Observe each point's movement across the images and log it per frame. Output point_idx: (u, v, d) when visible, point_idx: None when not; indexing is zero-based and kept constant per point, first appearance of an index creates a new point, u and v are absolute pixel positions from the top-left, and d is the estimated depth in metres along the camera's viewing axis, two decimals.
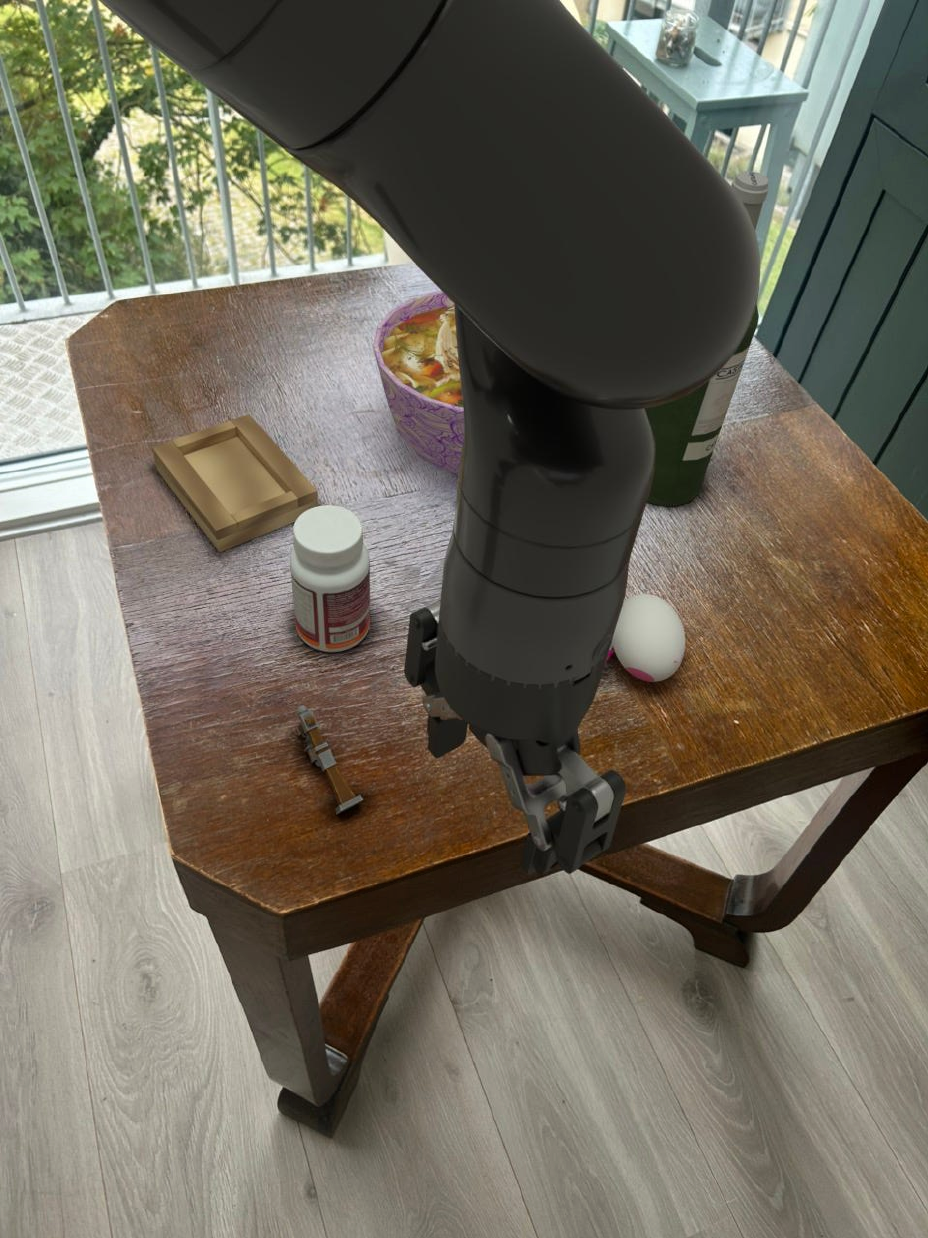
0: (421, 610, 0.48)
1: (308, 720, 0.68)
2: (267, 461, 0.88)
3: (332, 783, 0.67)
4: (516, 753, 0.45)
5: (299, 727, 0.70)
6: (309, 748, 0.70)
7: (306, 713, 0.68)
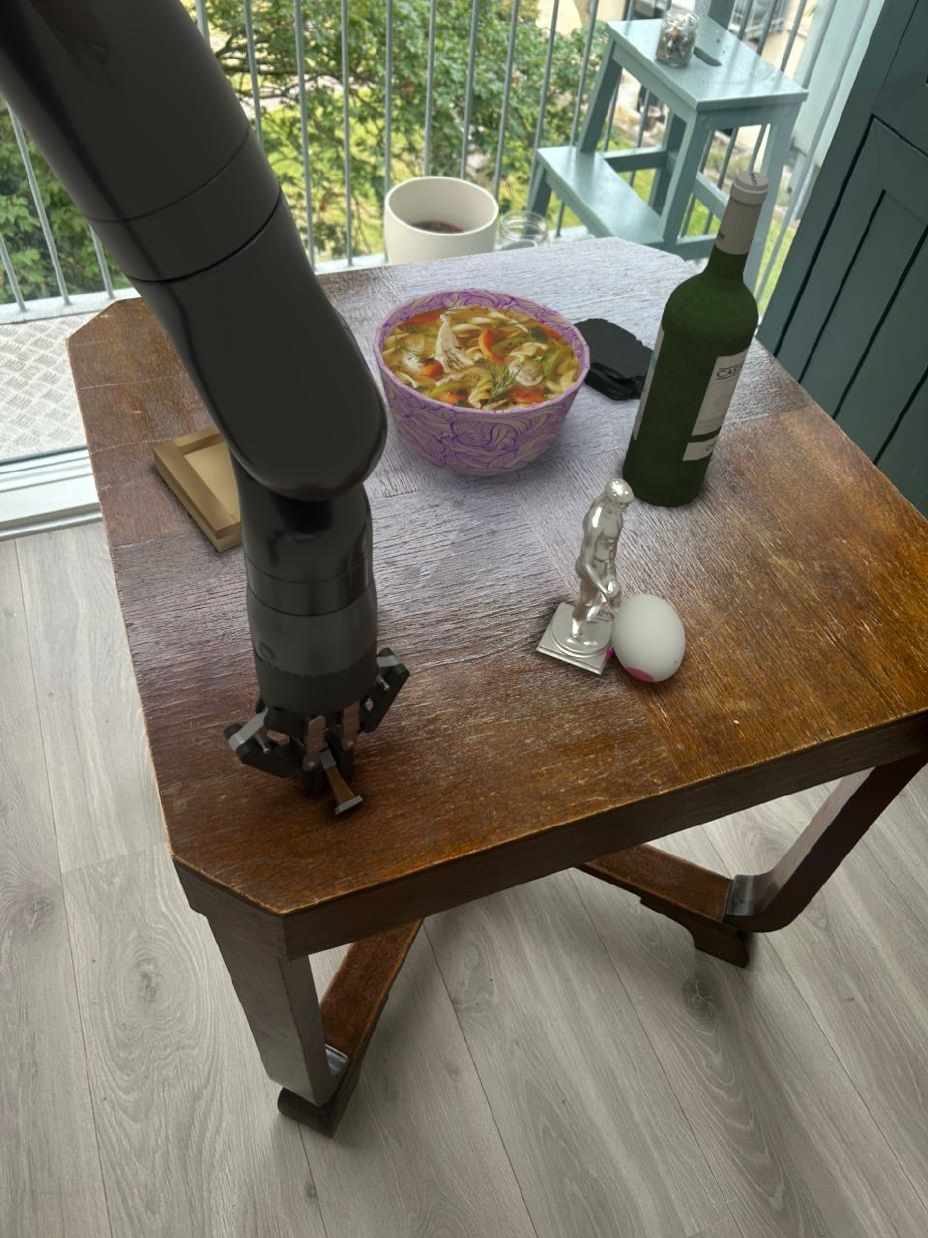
0: None
1: None
2: None
3: (331, 783, 0.67)
4: None
5: None
6: None
7: None
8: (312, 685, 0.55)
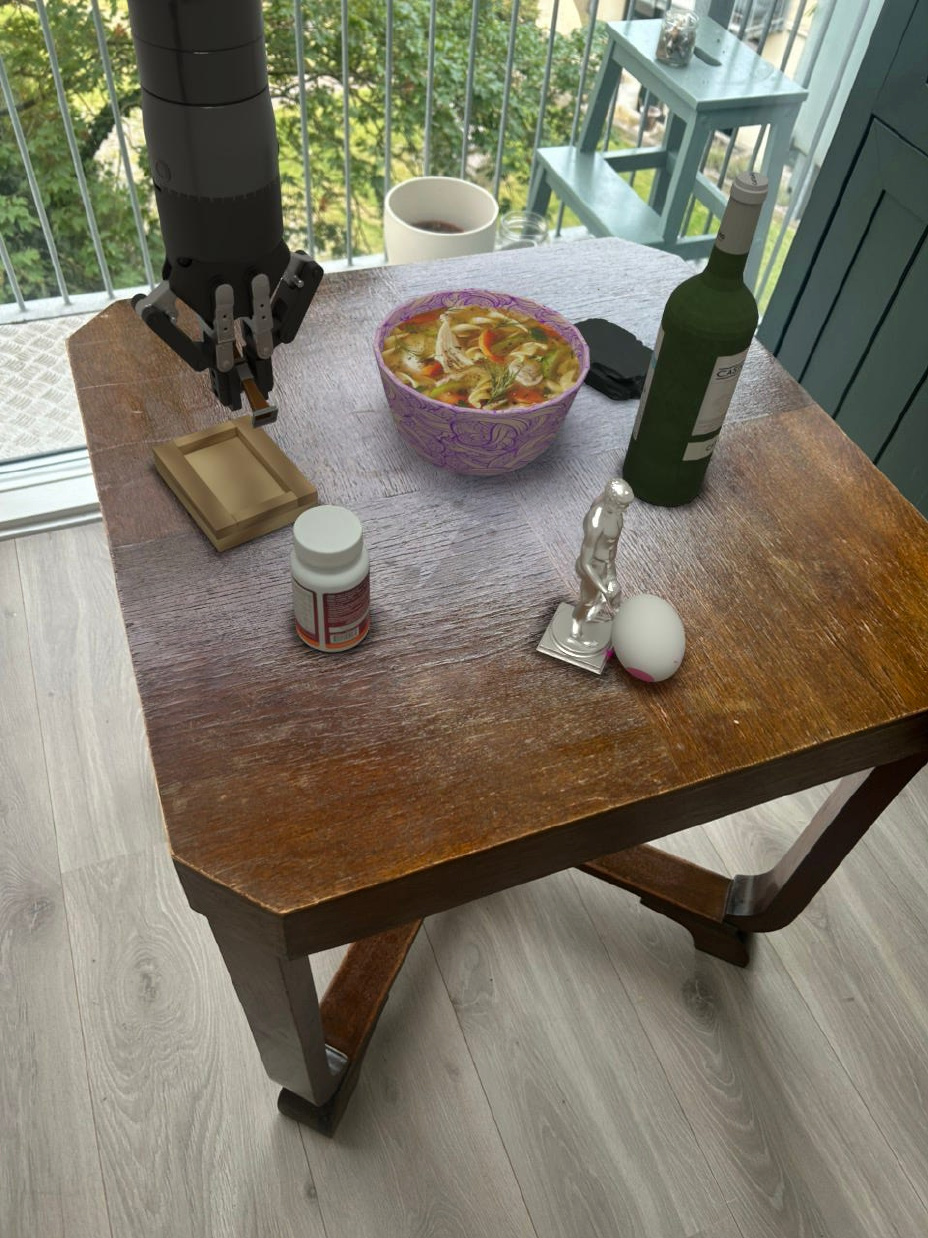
0: None
1: None
2: (267, 461, 0.88)
3: (248, 395, 0.68)
4: None
5: None
6: None
7: None
8: (210, 213, 0.55)
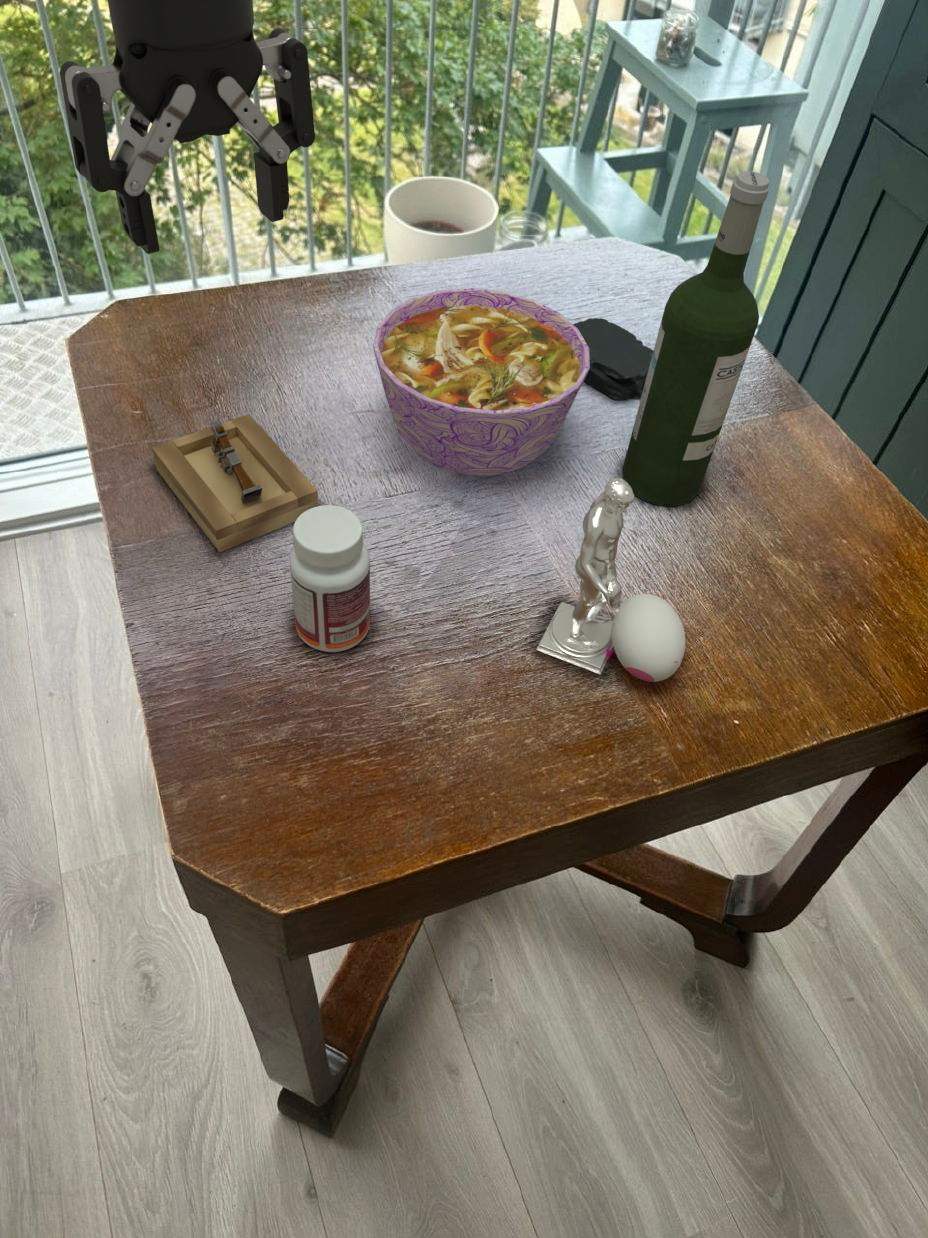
0: None
1: (218, 427, 0.85)
2: (267, 461, 0.88)
3: (238, 477, 0.85)
4: None
5: (213, 442, 0.88)
6: (221, 458, 0.88)
7: (217, 424, 0.86)
8: None
